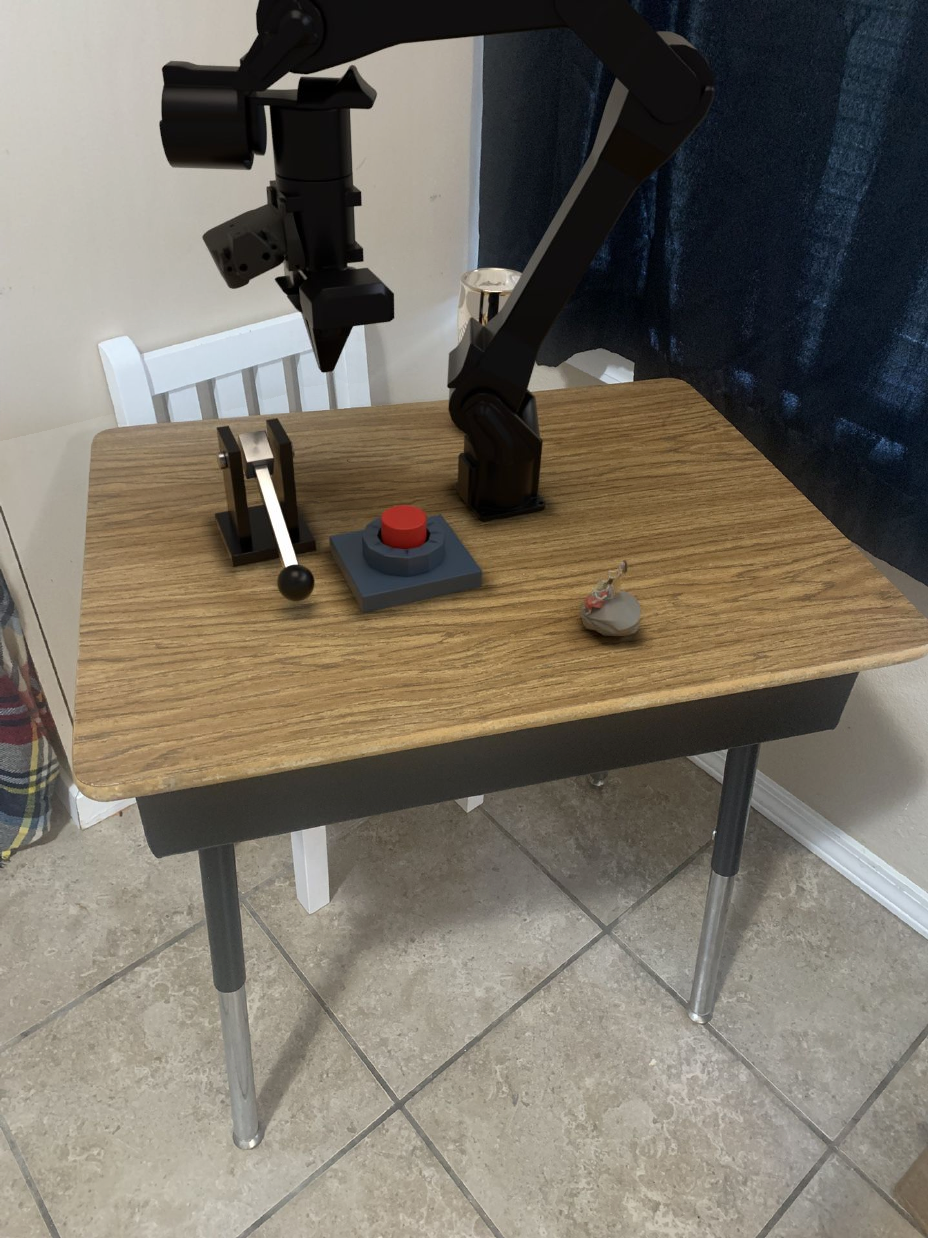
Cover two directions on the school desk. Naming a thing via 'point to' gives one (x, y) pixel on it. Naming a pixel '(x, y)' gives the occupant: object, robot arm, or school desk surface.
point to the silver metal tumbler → (483, 295)
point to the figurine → (611, 607)
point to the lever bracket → (249, 525)
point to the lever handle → (274, 514)
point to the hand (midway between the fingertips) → (326, 370)
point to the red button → (403, 527)
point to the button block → (403, 566)
